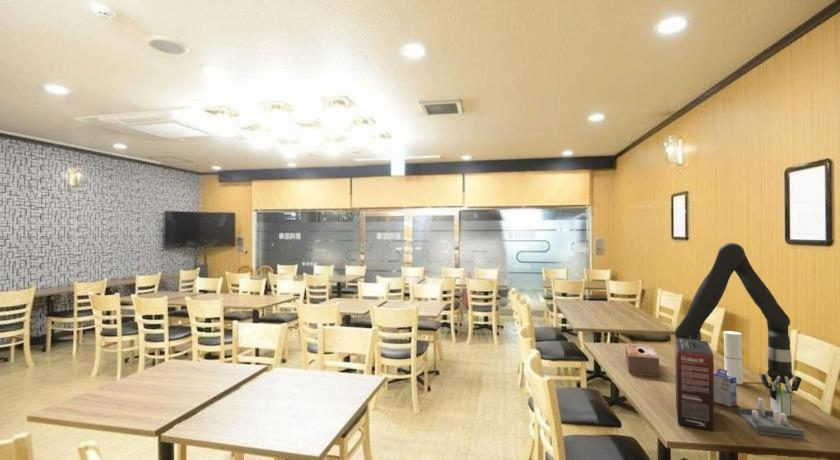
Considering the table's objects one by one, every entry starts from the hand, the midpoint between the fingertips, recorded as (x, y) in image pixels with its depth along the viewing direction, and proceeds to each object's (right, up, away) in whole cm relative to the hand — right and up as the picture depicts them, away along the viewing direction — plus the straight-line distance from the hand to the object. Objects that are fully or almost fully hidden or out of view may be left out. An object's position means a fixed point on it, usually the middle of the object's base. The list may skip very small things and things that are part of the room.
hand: (780, 399), depth 169 cm
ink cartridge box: (-16, -7, +12) cm, 21 cm away
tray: (-14, -6, -11) cm, 19 cm away
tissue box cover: (-26, -8, +60) cm, 65 cm away
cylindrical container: (+8, -6, +36) cm, 38 cm away
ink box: (0, -6, 0) cm, 6 cm away
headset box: (-38, -7, -2) cm, 38 cm away
